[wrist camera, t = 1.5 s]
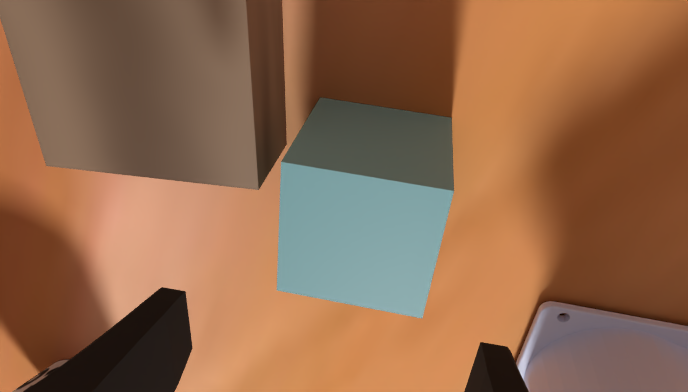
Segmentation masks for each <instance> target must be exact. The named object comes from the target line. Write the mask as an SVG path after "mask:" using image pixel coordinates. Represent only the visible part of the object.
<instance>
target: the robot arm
mask: <svg viewBox="0 0 688 392" xmlns="http://www.w3.org/2000/svg"><path fill="white" fill-rule="evenodd" d="M561 313H567V314H566V315H563V316H560V315H559V314H561ZM191 350H192V341H191V333H190V325H189V317H188V309H187V300H186V292H185V291H180V290H174V289H169V288H163V287H162V288H160V289H159V290H158V291H156V292H155V293H154V294H153V295H151V296H150V297H149V298H148V299H146V300H145V301H144V302H143V303H141V304H140V305H139V306H138V307H137V308H135V309H134V310H133V311H132V312H130V313H129V314H128V315H127V316H126V317H124V318H123V319H122V320H121V321H119V322H118V323H117V324H116V325H114V326H113V327H112V328H111V329H109V330H108V331H107V332H105V333H104V334H103V335H102V336H100V337H99V338H98V339H96V340H95V341H94V342H93V343H91V344H90V345H89V346H87V347H86V348H85V349H83V350H82V351H81V352H79V353H78V354H77V355H75V356H74V357H73V358H71V359H70V360H68V361H67V362H66V363H64V364H63V365H61V366H60V367H59V368H57V369H56V370H54V371H53V372H52V373H50V374H49V375H47V376H46V377H44V378H43V379H42V380H40V381H39V382H37V383H36V384H34V385H33V386H31V387H30V388H28V389H26V390H25V391H23V392H174V391H175V389H176V388H177V385H178V383H179V381H180V378H181V376H182V373H183V371H184V368H185V366H186V363H187V361H188V358H189V356H190V353H191ZM464 392H688V326H684V325H679V324H673V323H668V322H663V321H657V320H652V319H646V318H641V317H636V316H630V315H625V314H619V313H614V312H608V311H603V310H598V309H592V308H587V307H581V306H576V305H571V304H565V303H560V302H554V301H548V302H544V303H543V304H541V305H540V307H539V308H538V311H537V313H536V316H535V318H534V320H533V323H532V325H531V328H530V330H529V333H528V335H527V337H526V340H525V342H524V345H523V347H522V349H521V352H520V354H519V357H518V359H517V362H516V363H515V360H514V358H513V356H512V353H511V351H510V350H509V348H508V347H506V346H500V345H494V344H488V343H483V342H480V346H479V349H478V352H477V355H476V358H475V361H474V364H473V367H472V370H471V373H470V376H469V379H468V382H467V385H466V388H465V391H464Z"/></svg>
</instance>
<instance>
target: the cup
mask: <svg viewBox="0 0 688 392" xmlns="http://www.w3.org/2000/svg"><path fill="white" fill-rule="evenodd" d="M67 361H68V360H61V361H58V362H55V363H54V364H52V365H51V366H49V367H48V368H46V369H45V370H43V371H42V372H40V373H39V374H38V375H36V376H35V377H33V378H32V379H30V380H29V381H27V382H26V383H24V384H23V385H21V386H20V387H18V388H17V389H16V390H14V391H13V392H23V391H25V390H26V389H28V388H30V387H31V386H33V385H34V384H36V383H37V382H39V381H40V380H42V379H43V378H44V377H46V376H47V375H49V374H50V373H52V372H53V371H54V370H56V369H57V368H59V367H60V366H61V365H63V364H64V363H66V362H67Z"/></svg>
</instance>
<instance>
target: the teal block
mask: <svg viewBox="0 0 688 392" xmlns="http://www.w3.org/2000/svg"><path fill="white" fill-rule="evenodd" d="M453 193H454V177H453V145H452V118H451V117H444V116H438V115H432V114H425V113H419V112H412V111H406V110H399V109H393V108H386V107H380V106H373V105H367V104H360V103H354V102H348V101H341V100H335V99H328V98H322V97H320V99H319V100H318V102H317V104H316V105H315V107H314V108H313V110H312V112H311V113H310V115H309V117H308V118H307V120H306V122H305V123H304V125H303V127H302V128H301V130H300V132H299V133H298V135H297V137H296V138H295V140H294V142H293V143H292V145H291V147H290V148H289V150H288V151H287V153H286V155H285V156H284V158H283V160H282V161H281V183H280V212H279V242H278V272H277V290H278V291H283V292H288V293H294V294H299V295H304V296H309V297H314V298H319V299H325V300H330V301H335V302H340V303H345V304H350V305H356V306H361V307H366V308H371V309H376V310H381V311H387V312H392V313H397V314H402V315H407V316H412V317H418V318H422V317H423V313H424V309H425V305H426V301H427V297H428V293H429V289H430V285H431V281H432V277H433V273H434V269H435V265H436V261H437V257H438V253H439V249H440V245H441V241H442V237H443V233H444V229H445V225H446V221H447V217H448V213H449V209H450V205H451V201H452V197H453Z"/></svg>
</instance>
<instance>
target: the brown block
mask: <svg viewBox="0 0 688 392" xmlns="http://www.w3.org/2000/svg"><path fill="white" fill-rule="evenodd" d="M0 19H1V22H2V25H3V28H4V32H5V35H6V38H7V41H8V44H9V48H10V51H11V54H12V57H13V60H14V64H15V67H16V70H17V73H18V77H19V80H20V83H21V86H22V89H23V93H24V96H25V99H26V102H27V105H28V109H29V112H30V115H31V118H32V121H33V125H34V128H35V131H36V134H37V137H38V141H39V144H40V147H41V150H42V154H43V157H44V160H45V163H46V166H52V167H60V168H69V169H78V170H87V171H96V172H105V173H113V174H122V175H131V176H140V177H149V178H158V179H167V180H175V181H184V182H193V183H202V184H211V185H220V186H228V187H237V188H246V189H255V190H259V188H260V187H261V185H262V184H263V182H264V180H265V179H266V177H267V175H268V174H269V172H270V171H271V169H272V167H273V166H274V164H275V162H276V161H277V159H278V158H279V156H280V154H281V153H282V151H283V149H284V148H285V146H286V145H287V142H286V111H285V80H284V49H283V18H282V0H0Z"/></svg>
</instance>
